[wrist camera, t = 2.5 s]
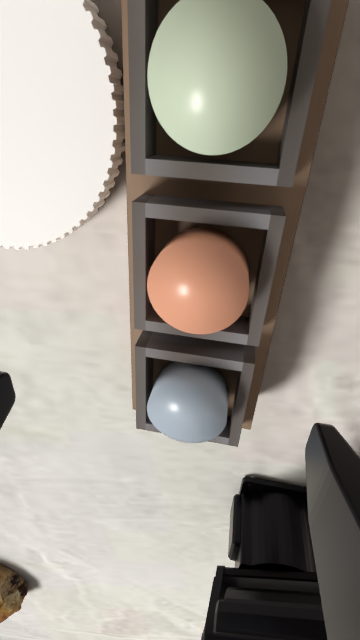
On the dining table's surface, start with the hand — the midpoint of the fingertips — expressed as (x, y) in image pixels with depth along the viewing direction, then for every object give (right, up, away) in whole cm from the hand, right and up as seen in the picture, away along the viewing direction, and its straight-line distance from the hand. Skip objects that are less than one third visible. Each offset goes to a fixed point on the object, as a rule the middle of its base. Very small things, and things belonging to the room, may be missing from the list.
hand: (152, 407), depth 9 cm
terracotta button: (+2, +4, +8) cm, 9 cm away
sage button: (+2, +11, +4) cm, 12 cm away
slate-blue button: (+1, -2, +11) cm, 12 cm away
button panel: (+2, +6, +11) cm, 13 cm away
